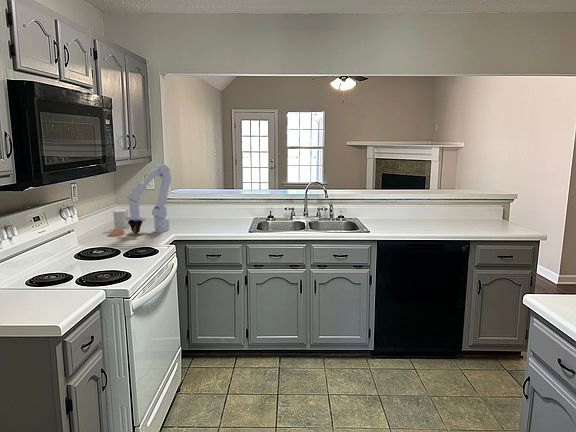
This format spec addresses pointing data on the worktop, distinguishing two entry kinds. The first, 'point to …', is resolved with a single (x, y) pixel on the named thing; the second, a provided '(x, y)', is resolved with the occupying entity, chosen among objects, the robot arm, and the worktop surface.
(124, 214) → the supplement box
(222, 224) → the worktop surface
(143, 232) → the lid
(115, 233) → the bowl
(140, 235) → the mat
